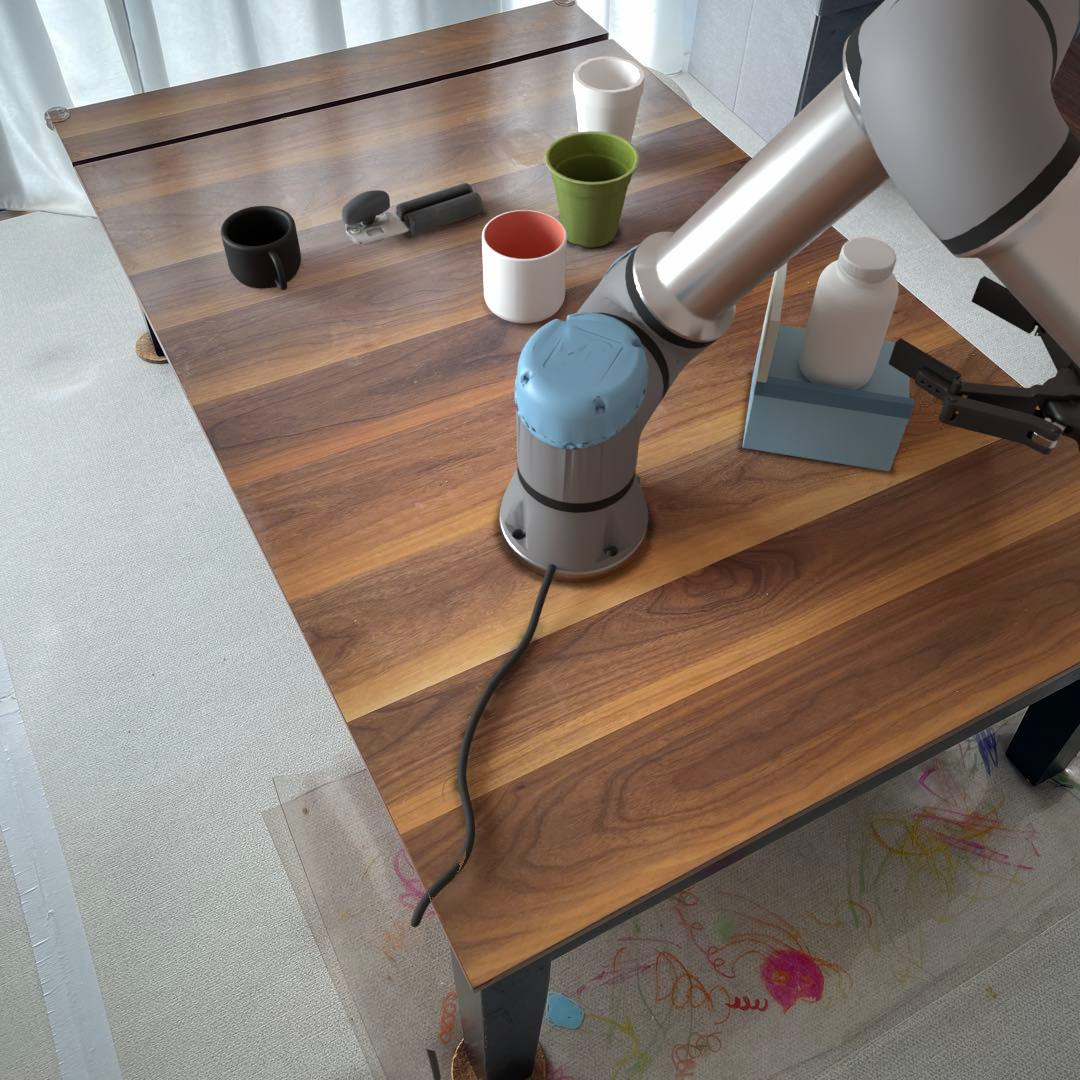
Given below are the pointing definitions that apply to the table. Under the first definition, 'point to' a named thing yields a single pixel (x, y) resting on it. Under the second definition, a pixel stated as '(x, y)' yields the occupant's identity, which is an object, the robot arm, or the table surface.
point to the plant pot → (591, 183)
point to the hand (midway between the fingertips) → (936, 318)
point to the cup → (524, 265)
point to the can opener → (407, 213)
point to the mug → (262, 246)
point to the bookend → (822, 402)
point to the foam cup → (608, 95)
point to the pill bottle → (850, 315)
